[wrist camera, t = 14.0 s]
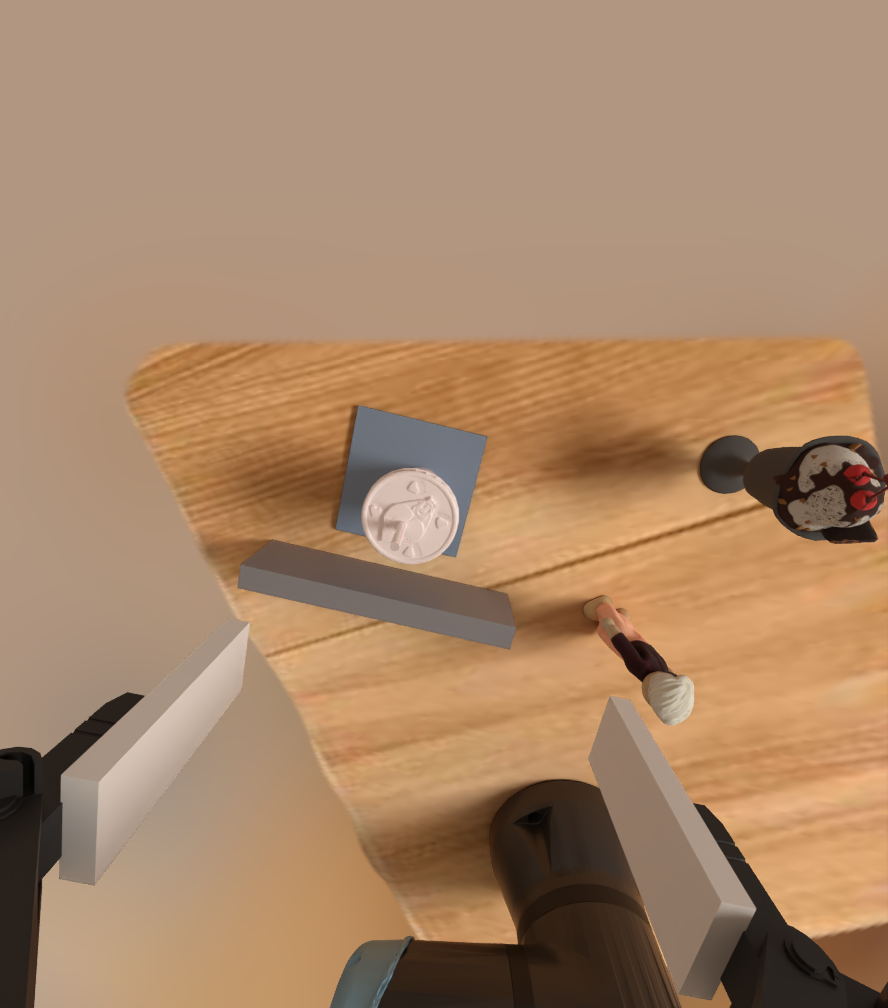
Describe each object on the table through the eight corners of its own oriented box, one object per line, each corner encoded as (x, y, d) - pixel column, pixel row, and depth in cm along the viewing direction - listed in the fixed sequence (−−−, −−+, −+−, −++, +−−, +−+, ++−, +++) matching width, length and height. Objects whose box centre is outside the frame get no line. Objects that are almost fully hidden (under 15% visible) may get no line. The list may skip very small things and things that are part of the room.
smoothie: (367, 481, 37) (320, 530, 23) (426, 435, 36) (412, 459, 22) (413, 537, 38) (394, 615, 25) (471, 495, 37) (484, 551, 24)
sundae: (708, 415, 36) (884, 427, 21) (783, 438, 36) (1008, 466, 21) (676, 490, 37) (819, 550, 23) (748, 511, 37) (936, 584, 23)
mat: (455, 555, 39) (455, 557, 39) (336, 527, 39) (335, 529, 38) (487, 436, 36) (487, 436, 36) (359, 405, 36) (358, 405, 36)
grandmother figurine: (564, 616, 40) (613, 712, 28) (587, 582, 39) (647, 666, 27) (634, 651, 41) (711, 760, 29) (657, 619, 40) (747, 717, 28)
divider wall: (501, 613, 40) (509, 649, 34) (269, 559, 40) (237, 588, 34) (507, 593, 40) (516, 627, 34) (272, 539, 39) (240, 564, 33)
